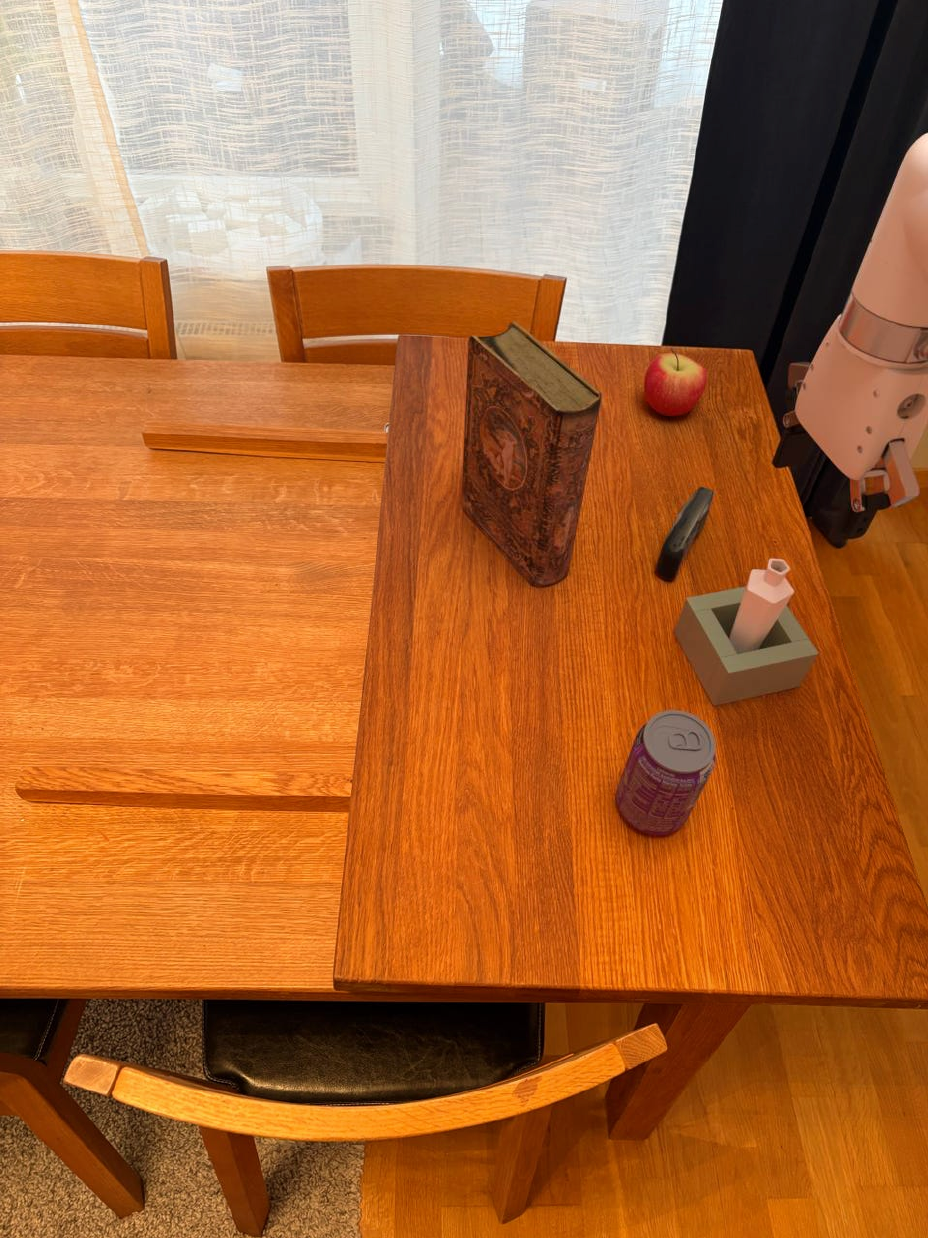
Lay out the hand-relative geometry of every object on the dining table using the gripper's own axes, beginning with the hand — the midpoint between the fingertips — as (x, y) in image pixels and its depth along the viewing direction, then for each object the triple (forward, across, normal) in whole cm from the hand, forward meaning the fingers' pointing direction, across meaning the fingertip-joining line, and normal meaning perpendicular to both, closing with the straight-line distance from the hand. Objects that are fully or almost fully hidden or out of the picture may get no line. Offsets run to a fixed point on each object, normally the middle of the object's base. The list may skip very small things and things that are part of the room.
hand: (815, 499), depth 75 cm
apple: (+24, +44, -11) cm, 51 cm away
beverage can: (+24, -13, +16) cm, 32 cm away
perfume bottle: (+24, +1, 0) cm, 24 cm away
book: (+24, +24, +18) cm, 38 cm away
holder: (+24, +1, 0) cm, 24 cm away
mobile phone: (+24, +19, -2) cm, 31 cm away
